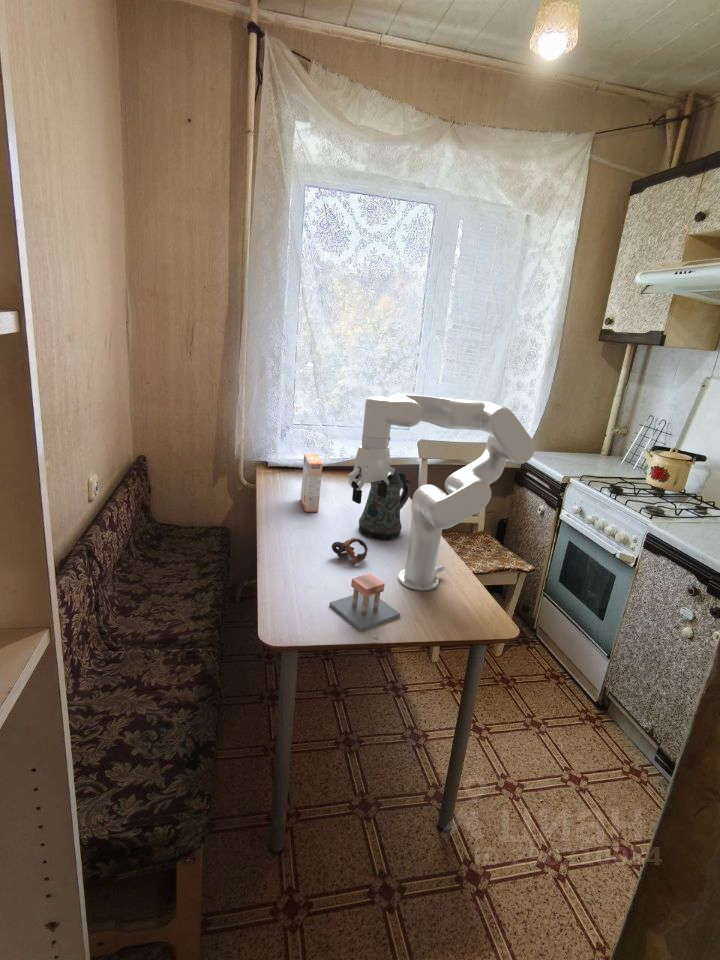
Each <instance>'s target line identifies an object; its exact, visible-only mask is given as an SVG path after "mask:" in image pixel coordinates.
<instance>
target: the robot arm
mask: <svg viewBox="0 0 720 960" xmlns="http://www.w3.org/2000/svg"><path fill="white" fill-rule="evenodd" d="M421 422H424V423H428V424H431V425H435V426H437V427H440V428H443V429H448V430H470V431H482V432H486V433H488V434H489V435H488V438H487V440H486V445H485V449H484V450H483V453H482V455H480V457H478V458H477V459H476V460H473V461H472V462H470V463H469V464H467V465H466V466H463V467H462V468H460V469H458V470H456V471H454V472H453V473H451V474H450V475H449V476H448V477H447V478H446V479H445V481H444V489H445V491H446V492H447V493H448V494H447V493H446V492H445V491H444V490H442V489H441V488H439V487H438V486H436V485H434V484H424V485H420V486H419V487H418V488H417V489H416V490H415V491H414V492H413V495H412V499H411V524H410V530H409V538H408V545H407V549H406V550H407V551H406V558H405V564H404V569H402V570H401V571H400V572H399V573H398V581H399V582H400V584H402V585H403V586H404V587H405V588H408V589H412V590H414V591H415V590H416V591H423V592H424V591H431V590H434V589H436V588H437V587H438V585H439V578H438V577H437V575H438V573H440V572H441V573H442V572H444V571H445V567H444V565H443V564H442V565H441V564H440V565H438V566H437V563H438V557H439V550H440V545H441V538H442V532H443V530H447V529H450V528H452V527H454V526H456V525H458V524H460V523H461V522H464V521H466V520H467V519H468V518H471V517H473V516H474V515H476V514H477V513H479V512H481V511H482V510H484V509H485V508H486V506H487V505H488V504H489V503H490V500H491V497H492V489H491V487H490V485H491V484H493V483H495V482H496V481H497V480H498V479H499V478H500V477H501V475H502V474H503V472H504V470H505V466H506V464H507V463H506V462H507V461H510V462H511V463H514V464H517V465H519V464H525V463H527V462H529V461H530V460H531V459H532V458H533V456H534V453H535V442H534V441H533V438H532V437H531V436H530V434H529V433H528V432H527V430H526V429H525V427H524V426H523V424H522V423H521V422H520V420H519V419H518V418H517V416H516V415H515V414H514V413H513V411H511V410H510V409H509V408H508V407H506V406H504V405H501V404H498V403H496V402H491V401H487V400H475V399H474V400H472V399H470V400H469V399H458V398H457V399H456V398H447V397H435V396H430V395H429V396H428V395H420V394H409V393H408V394H406V393H396V394H392V395H390V396H389V397H386V396H378V395H377V396H374V395H373V396H368V398H366V400H365V406H364V415H363V426H362V436H361V444H360V445H359V446H358V448H357V452H356V456H355V458H354V459H355V461H354V467H353V470H352V471H351V472H350V473H348V474H347V476H346V478H347V481H348V483H349V485H350V487H351V488H352V497H351V501H352V502H354V503H356V504H362V497H363V495H362V494H363V489H362V488H363V487H364V485H365V484H369V483H370V482H376V481H380V482H379V484H378V492H377V495H378V496H380V497H382V498H386V493H387V485H389V483H390V482H389V481H390V480H391V479H392V475H393V474H394V472H395V469H396V468H395V467H393V466H391V465H390V464H391V463H390V462H391V456H390V453H391V452H390V446H389V445H390V441H391V437H390V435H391V429H392V428H391V427H392V426H397V427H404V428H411V427H415V426H417V425H419V423H421Z"/></svg>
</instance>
